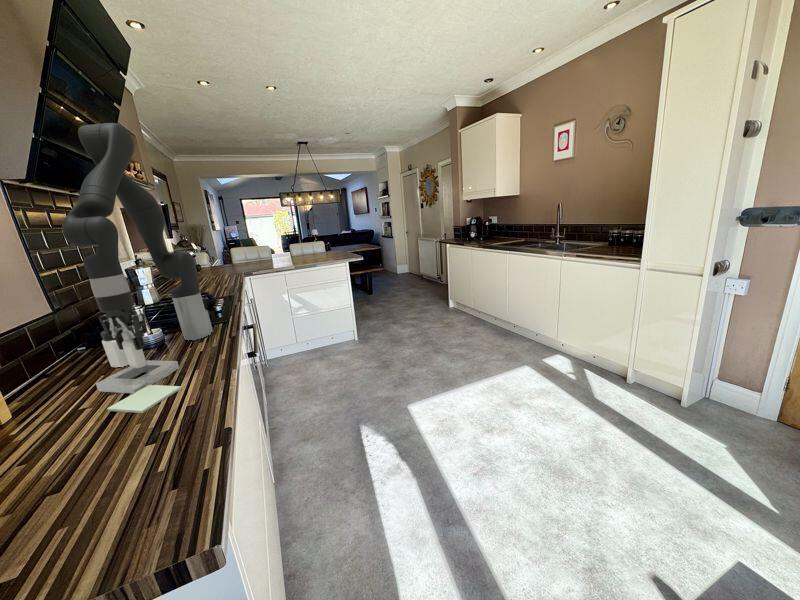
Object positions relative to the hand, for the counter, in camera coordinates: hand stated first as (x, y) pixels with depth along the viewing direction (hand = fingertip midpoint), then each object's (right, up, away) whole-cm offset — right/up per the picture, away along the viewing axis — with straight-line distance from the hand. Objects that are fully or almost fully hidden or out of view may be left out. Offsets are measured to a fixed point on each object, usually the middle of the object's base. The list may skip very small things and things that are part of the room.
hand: (132, 348), depth 93 cm
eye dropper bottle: (+1, -6, +2) cm, 6 cm away
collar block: (+1, -9, +2) cm, 10 cm away
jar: (-14, -7, +16) cm, 23 cm away
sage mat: (+11, -12, -9) cm, 19 cm away
